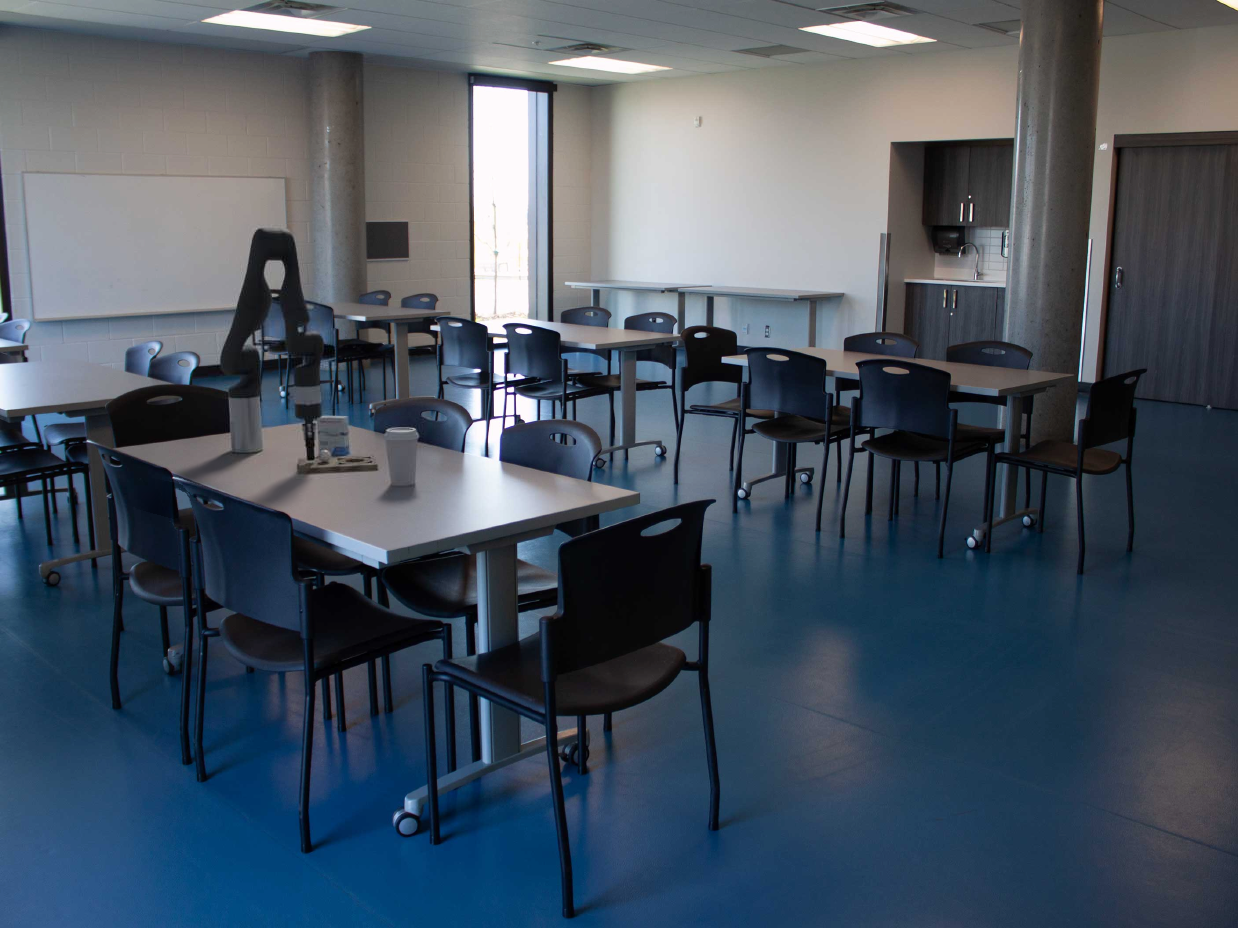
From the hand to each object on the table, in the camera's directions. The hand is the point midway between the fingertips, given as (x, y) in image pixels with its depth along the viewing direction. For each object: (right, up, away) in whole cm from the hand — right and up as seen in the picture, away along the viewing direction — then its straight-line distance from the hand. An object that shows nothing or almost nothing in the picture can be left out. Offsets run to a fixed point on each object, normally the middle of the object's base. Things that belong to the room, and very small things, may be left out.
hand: (310, 460), depth 318 cm
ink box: (+1, +2, +22) cm, 22 cm away
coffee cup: (+31, -7, -19) cm, 37 cm away
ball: (+4, +1, +1) cm, 4 cm away
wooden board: (+7, -2, +3) cm, 8 cm away
